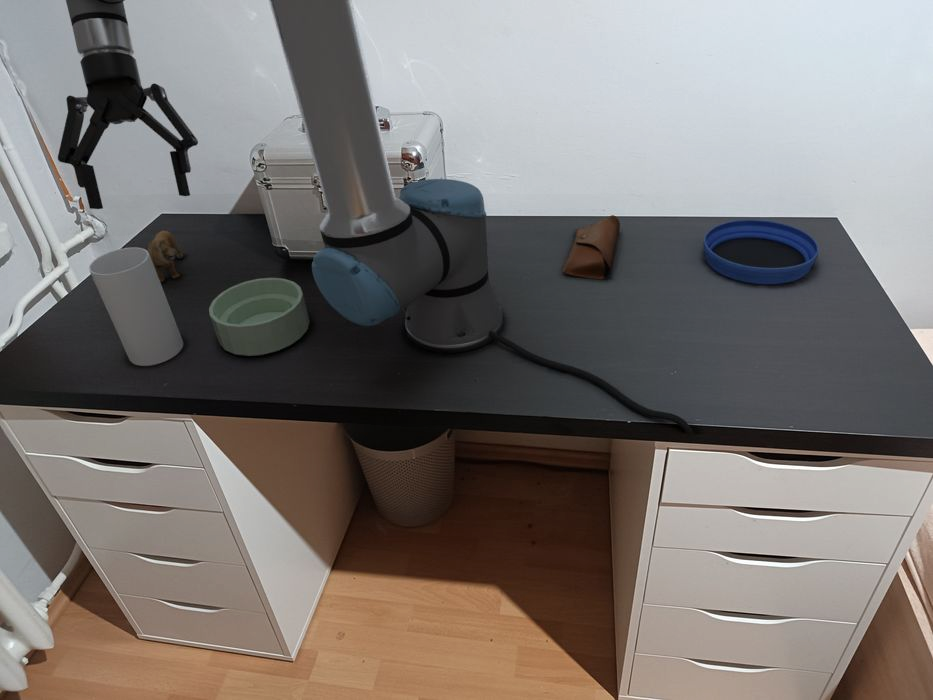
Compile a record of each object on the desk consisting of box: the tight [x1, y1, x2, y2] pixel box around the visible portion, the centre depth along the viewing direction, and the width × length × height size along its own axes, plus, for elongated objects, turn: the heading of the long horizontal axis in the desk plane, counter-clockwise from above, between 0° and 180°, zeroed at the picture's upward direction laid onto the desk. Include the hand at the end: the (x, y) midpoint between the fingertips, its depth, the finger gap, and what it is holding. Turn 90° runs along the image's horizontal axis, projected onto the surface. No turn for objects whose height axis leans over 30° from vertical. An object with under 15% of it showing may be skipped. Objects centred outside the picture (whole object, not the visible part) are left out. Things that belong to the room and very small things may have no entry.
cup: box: [88, 247, 184, 367], centre depth 103 cm, size 8×8×16 cm
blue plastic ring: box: [702, 219, 819, 285], centre depth 116 cm, size 18×18×4 cm
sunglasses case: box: [562, 214, 621, 280], centre depth 122 cm, size 18×7×7 cm
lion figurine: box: [145, 230, 184, 283], centre depth 127 cm, size 15×5×9 cm, turn 21°
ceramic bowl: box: [208, 277, 310, 357], centre depth 108 cm, size 14×14×6 cm
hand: (140, 202), depth 105 cm, fingers open, 13 cm apart
